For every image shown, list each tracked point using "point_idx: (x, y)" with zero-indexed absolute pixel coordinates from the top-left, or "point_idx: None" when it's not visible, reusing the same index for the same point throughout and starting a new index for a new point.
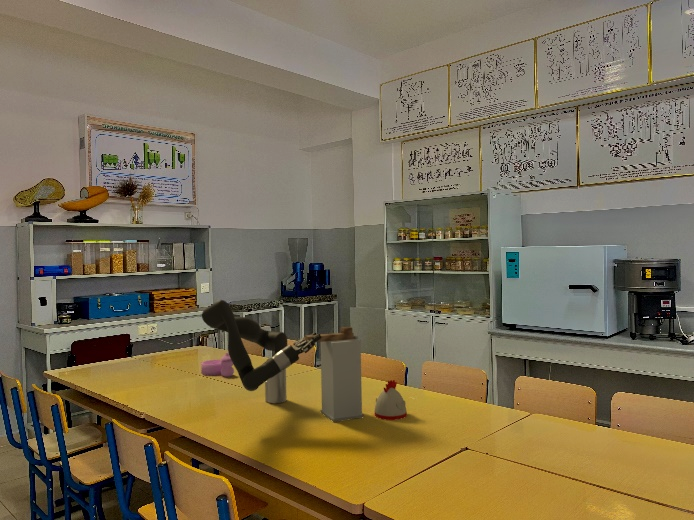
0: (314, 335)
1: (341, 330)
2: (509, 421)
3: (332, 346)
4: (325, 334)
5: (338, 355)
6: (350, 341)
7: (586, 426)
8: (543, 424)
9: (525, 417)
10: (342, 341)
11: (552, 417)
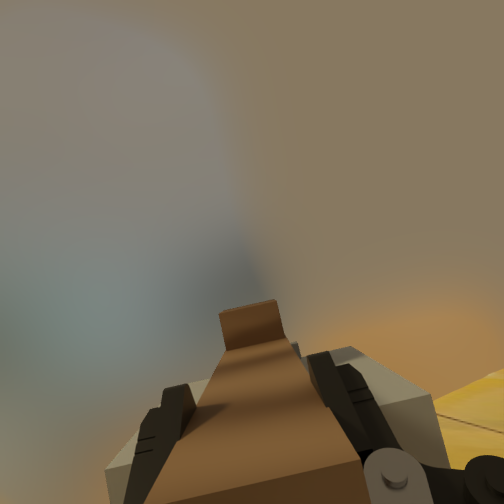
0: (240, 415)
1: (238, 330)
2: (472, 429)
3: (439, 430)
4: (239, 375)
5: None
6: (370, 358)
7: (488, 382)
8: (485, 405)
9: (444, 415)
10: (363, 373)
11: (443, 398)
